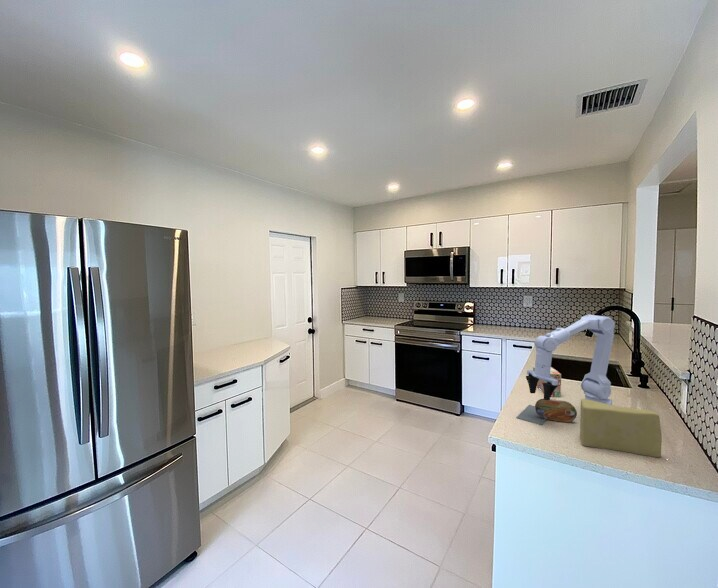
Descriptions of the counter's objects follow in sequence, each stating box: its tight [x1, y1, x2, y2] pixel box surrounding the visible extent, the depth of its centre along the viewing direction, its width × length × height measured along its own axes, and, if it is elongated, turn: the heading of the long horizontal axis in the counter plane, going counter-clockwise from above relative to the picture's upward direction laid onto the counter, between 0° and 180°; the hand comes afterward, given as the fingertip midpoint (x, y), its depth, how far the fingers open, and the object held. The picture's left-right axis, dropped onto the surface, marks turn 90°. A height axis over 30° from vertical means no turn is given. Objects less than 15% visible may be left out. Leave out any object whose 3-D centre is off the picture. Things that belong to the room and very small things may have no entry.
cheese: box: [579, 398, 663, 458], centre depth 112 cm, size 22×10×15 cm, turn 58°
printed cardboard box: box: [532, 366, 562, 398], centre depth 169 cm, size 21×6×12 cm, turn 169°
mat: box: [516, 404, 547, 426], centre depth 140 cm, size 10×18×1 cm, turn 136°
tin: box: [534, 398, 578, 423], centre depth 134 cm, size 15×3×8 cm, turn 68°
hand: (539, 396), depth 133 cm, fingers open, 7 cm apart
